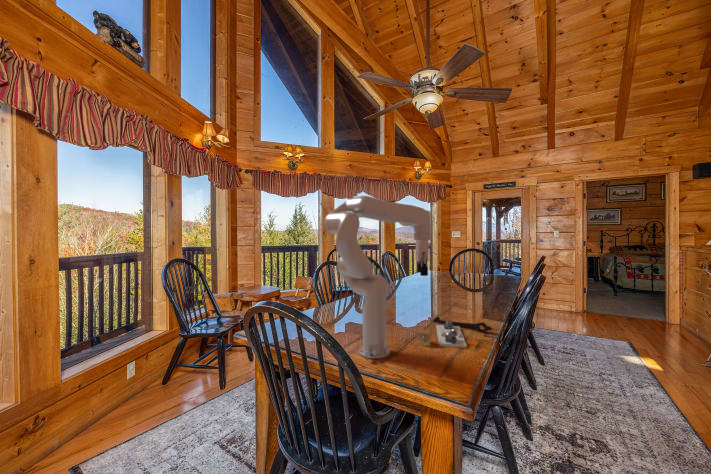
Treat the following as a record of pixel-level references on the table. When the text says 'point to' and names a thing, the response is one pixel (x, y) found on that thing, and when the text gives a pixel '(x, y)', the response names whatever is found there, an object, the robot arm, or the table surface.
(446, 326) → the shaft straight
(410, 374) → the table surface
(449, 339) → the dark grey rounded block
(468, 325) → the wrench
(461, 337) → the light grey rectangular plate
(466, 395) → the table surface
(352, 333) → the table surface
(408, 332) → the table surface
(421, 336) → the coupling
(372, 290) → the robot arm
